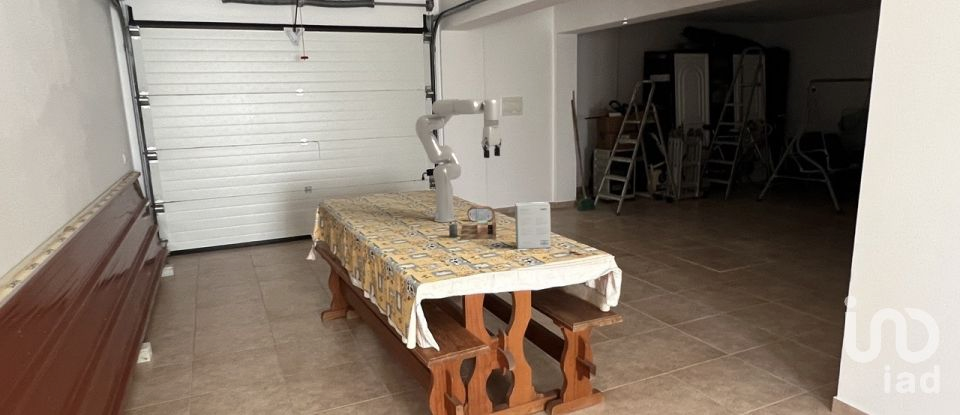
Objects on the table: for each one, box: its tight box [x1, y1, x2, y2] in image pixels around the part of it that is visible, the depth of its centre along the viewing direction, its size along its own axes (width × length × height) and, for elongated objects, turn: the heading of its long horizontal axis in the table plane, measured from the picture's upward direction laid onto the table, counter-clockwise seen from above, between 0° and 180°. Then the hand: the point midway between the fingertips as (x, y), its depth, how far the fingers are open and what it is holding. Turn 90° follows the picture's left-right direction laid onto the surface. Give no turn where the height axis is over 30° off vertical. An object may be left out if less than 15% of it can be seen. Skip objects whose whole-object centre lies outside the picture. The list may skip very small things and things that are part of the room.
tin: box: [466, 205, 496, 223], centre depth 324 cm, size 15×3×8 cm, turn 84°
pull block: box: [448, 223, 489, 239], centre depth 290 cm, size 19×5×6 cm, turn 90°
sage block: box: [477, 221, 489, 225], centre depth 301 cm, size 5×5×5 cm
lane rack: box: [459, 212, 497, 241], centre depth 295 cm, size 18×23×8 cm
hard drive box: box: [514, 201, 552, 250], centre depth 267 cm, size 16×8×20 cm, turn 92°
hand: (492, 156), depth 304 cm, fingers open, 9 cm apart
